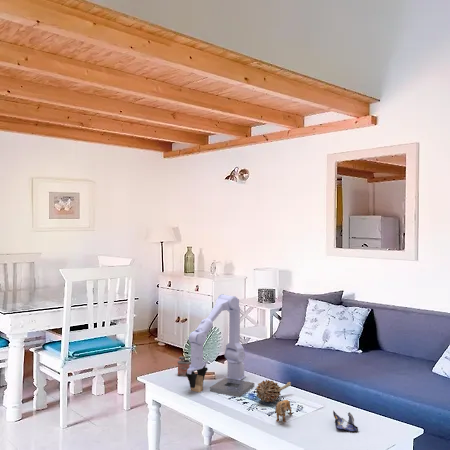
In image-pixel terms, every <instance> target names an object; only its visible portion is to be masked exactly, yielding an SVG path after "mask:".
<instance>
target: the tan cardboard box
mask: <svg viewBox="0 0 450 450" xmlns="http://www.w3.org/2000/svg"><path fill="white" fill-rule="evenodd" d="M203 391H204V381H203V376H201V375H197V377H196V382H195V388H191V387H190V392H196V393H201V392H203Z"/></svg>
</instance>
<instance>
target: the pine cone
mask: <svg viewBox="0 0 450 450" xmlns="http://www.w3.org/2000/svg"><path fill="white" fill-rule="evenodd" d="M291 383H292V382H291V381H288V382H287V383H286V384H284V385H283V386H279V385H278V382H275V381H273V380H270V379H265V381H264V380H262V382H258V383H257V385H258V386H256V387H255V389H256V390H255V391H254V392H255V393H256V397H257V399H259V400H260V401H261V402H265V403H267V402H268V403H270V402H271V403H273V401H274V402H276V400H278V398H279V399H280V398H281V397H280V396H281V395H282V394H281V391H283V390H285V389H287V388H288V387H291V386H292V384H291Z"/></svg>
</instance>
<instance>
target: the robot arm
mask: <svg viewBox="0 0 450 450" xmlns="http://www.w3.org/2000/svg"><path fill="white" fill-rule="evenodd" d="M223 311H227V313H229V314H228V315H229V317H228V319H229V320H228V326H229V327H228V333H229V334H228V343H227V344H226V345H225V350H224V353H223V354H224V358H225V359H226V361H227V376H226V377H225V378H230V379H236V380H241V381H243V379H245V378H246V377H247V376H246V375H245V362H244V359H245V358H246V353H245V348H244V346H243V345H242V344H241V340H240V339H241V337H240V336H241V307H240V299H239V298H238V297H237V296H235V295H228V294H224V293H221V294H219V295H218V297H217V298H216V300H215V304H214V306H213V308H212V310H211V311H210V312H209V314H208V316H207V317H206V318H203V319H201V321H200V323H199V324H198V326H197V327H196V329H195V330H194V331H191V332H190V333H189V337H188V338H187V339H188V341H189V344H190V345H189V346H190V361H191V364H190V365H189V369H187V372H186V376H187V377H186V378H187V380H188V383H189V387H190V389H191V388H195V382H196V377H197V375H201V376H203V382H204V380H205V377H206V373H207V371H208V370H209V368H208V367H207V362H206V361H204V343H205V342H207V341H206V340H207V336H208V333H210V331H211V329H212V328H213V326H214V324H213V323H214V321H215V320H216V319H217V317H219V316H220V314H221V313H222V312H223ZM195 372H197V373H195Z"/></svg>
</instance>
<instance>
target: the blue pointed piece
mask: <svg viewBox="0 0 450 450" xmlns="http://www.w3.org/2000/svg"><path fill="white" fill-rule="evenodd" d="M345 413H347V412H345ZM332 414H333V418H334V423H335V428H336V430H345V431H346V432H347V433H357V432H359V427H358V426H356V425H355V418H354V416H353V414H352V413H351V412H348V413H347V416H348V421H347V420H346V419H345V418H343V417H341V416H340V415H338V414H337V413H336V412H335V410H333V411H332ZM344 422H345V423H346V425H345V427H344V425H343V424H344Z"/></svg>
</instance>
